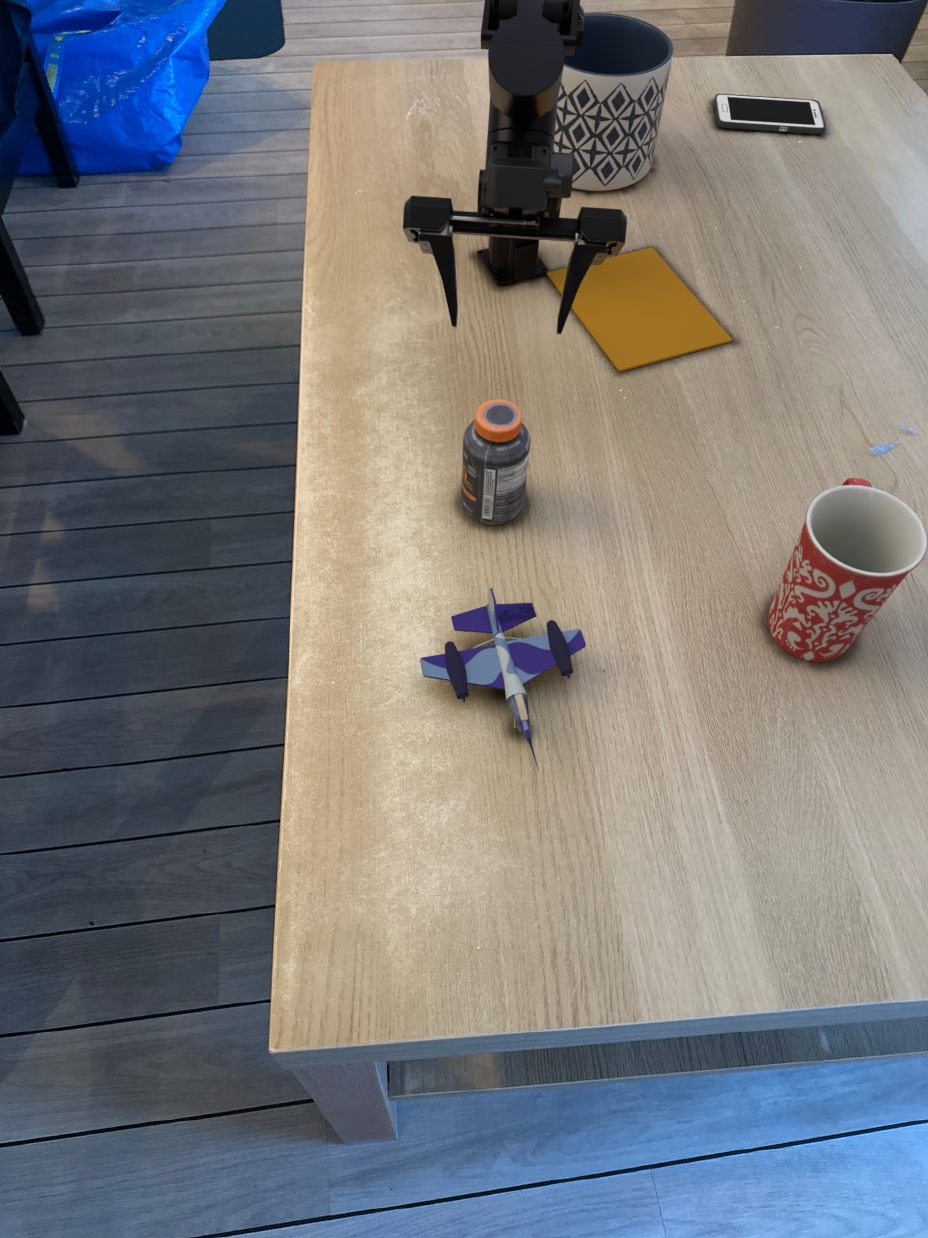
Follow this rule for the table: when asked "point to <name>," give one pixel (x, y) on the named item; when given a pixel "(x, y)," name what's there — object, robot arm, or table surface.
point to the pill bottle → (495, 463)
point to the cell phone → (769, 113)
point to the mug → (844, 568)
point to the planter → (613, 100)
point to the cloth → (641, 310)
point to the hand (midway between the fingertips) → (506, 330)
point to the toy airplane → (504, 656)
